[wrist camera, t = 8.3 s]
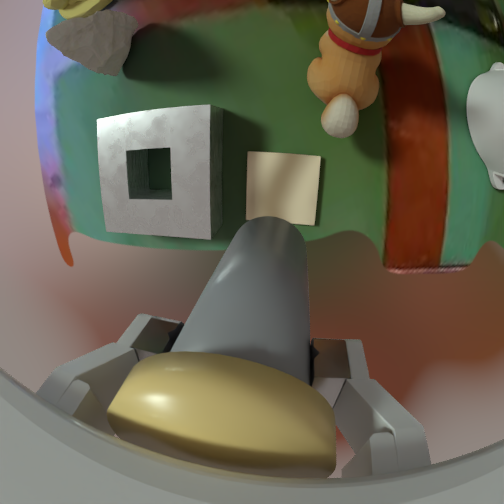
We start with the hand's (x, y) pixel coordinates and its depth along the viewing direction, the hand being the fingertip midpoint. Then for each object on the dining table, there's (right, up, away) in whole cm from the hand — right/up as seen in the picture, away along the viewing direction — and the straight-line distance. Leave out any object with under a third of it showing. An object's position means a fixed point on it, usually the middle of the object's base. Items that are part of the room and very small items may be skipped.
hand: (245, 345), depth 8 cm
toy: (+10, +22, +16) cm, 29 cm away
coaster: (+4, +10, +22) cm, 25 cm away
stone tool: (-16, +29, +17) cm, 37 cm away
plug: (+1, +3, +6) cm, 7 cm away
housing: (-10, +13, +23) cm, 29 cm away
